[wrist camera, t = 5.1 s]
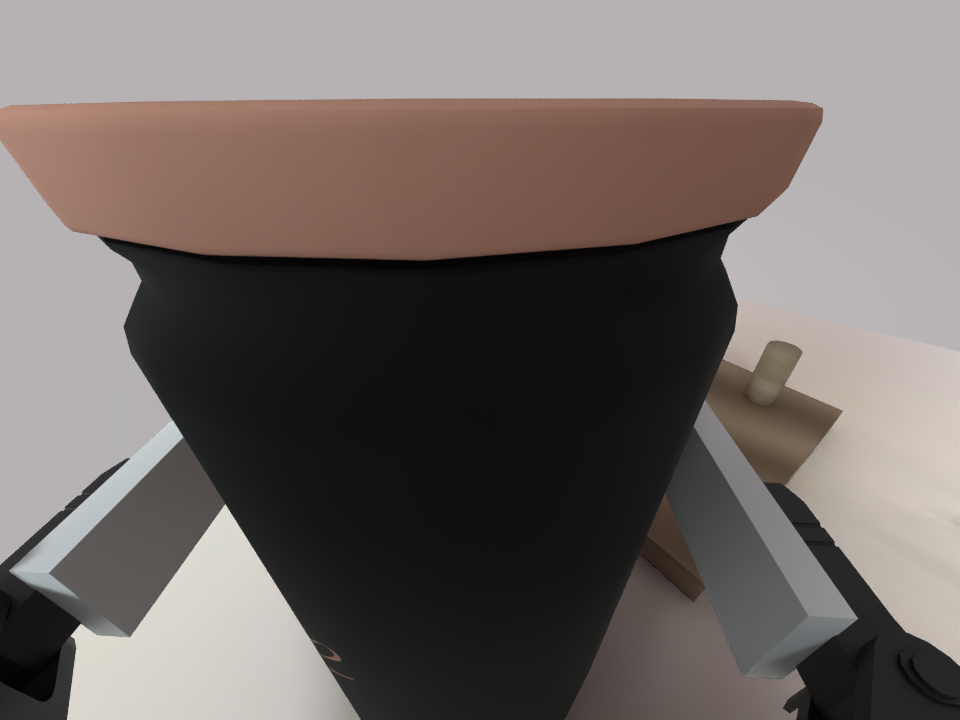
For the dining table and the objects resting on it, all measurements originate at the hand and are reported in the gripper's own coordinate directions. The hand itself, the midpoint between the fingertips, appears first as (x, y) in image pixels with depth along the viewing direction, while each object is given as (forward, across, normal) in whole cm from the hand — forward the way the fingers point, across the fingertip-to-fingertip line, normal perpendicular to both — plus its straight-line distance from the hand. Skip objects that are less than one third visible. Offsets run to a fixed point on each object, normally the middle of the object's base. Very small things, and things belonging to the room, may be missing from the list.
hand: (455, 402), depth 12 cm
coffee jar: (-2, 0, -10) cm, 10 cm away
